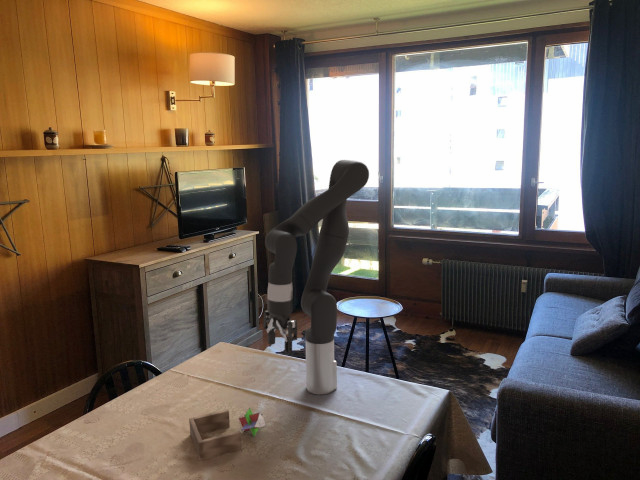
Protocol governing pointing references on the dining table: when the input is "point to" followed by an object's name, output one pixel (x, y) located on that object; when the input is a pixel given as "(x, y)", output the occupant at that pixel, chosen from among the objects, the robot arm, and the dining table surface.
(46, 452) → the dining table surface
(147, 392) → the dining table surface
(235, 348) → the dining table surface
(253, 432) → the geometric puzzle
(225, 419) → the box
